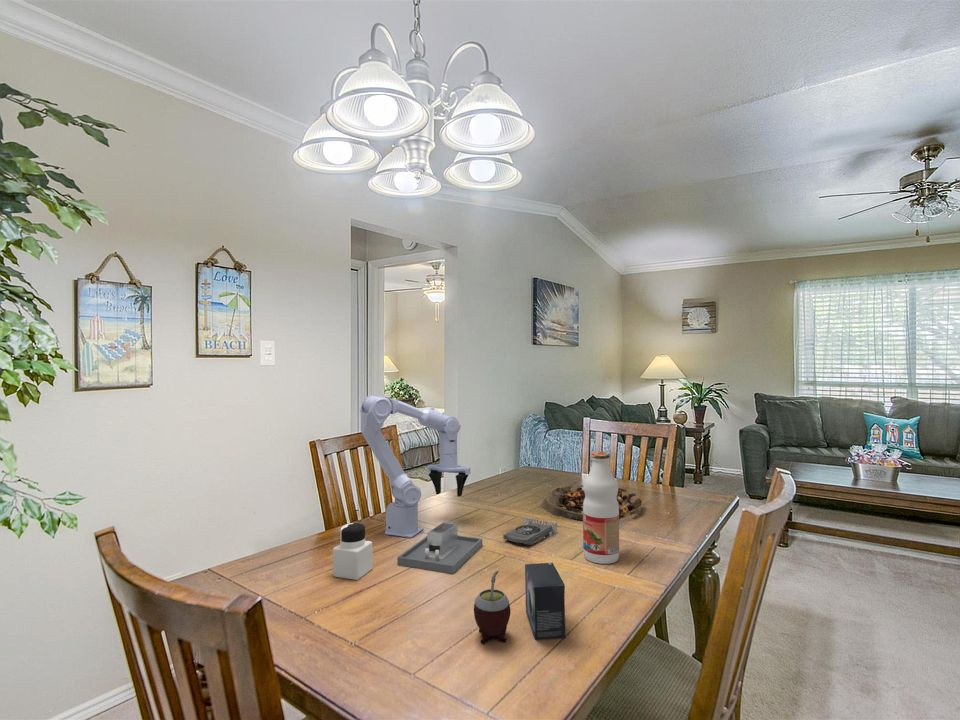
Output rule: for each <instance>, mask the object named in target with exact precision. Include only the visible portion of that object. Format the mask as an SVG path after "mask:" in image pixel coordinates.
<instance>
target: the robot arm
mask: <svg viewBox="0 0 960 720" xmlns="http://www.w3.org/2000/svg"><path fill="white" fill-rule="evenodd" d="M359 413H360V432H361V434H362V437H364V439H365V441H366V442H367V444H368V446H369V447H370V450H371V452H372V453H373V455H374V457H375V458H376V460H377V462H378V463H379V465H380V466H381V468H382V470H383V472H384V473H385V475H386V476H387V478H388V484H389V486H390V489H391V490H390V492H391V495H392V497H394V501H393V502H390V503H388V505H387V506H386V511H385V532H384V535H388V536H395V537H396V536H397V537H404V538H409V539H410V538H413V537H414V536H416V535H418V534H419V533H421V532H422V531H423V530H424V527H419V506H418V505H419V504H418V503H419V501H420V500H421V499H422V498H421V497H422V491H421V489H420V487H419V486H418V485H416V484H414V483H413V481H412V479H411V478H410V477H409V476H408V475H407V474H406V472H405V470H404V469H403V468H402V465H401V464H400V463H399V460H398V458H397V457H396V455H395V454H394V452H393V451H392V449H391V447H390V445H389V443H388V442H387V439H386V438H385V437H384V435H383V432H382V430H381V429H382V428H383V425H384V422H385V421H387V419H388V417H389V416H390V415H395V414H397V413H399V414H402V415H405V416H408V417H410V418H414V419H417V421H418V423H419V425H421V426H423V427H426V428H429V429H433V430H435V431H438V433H439V464H427V472H429V473H428V476H429V478H430V480H431V482H432V484H433V487H434V491H435V494H436V495H440V494H441V491H442V475H443V473H449V474H450V473H451V474H452V473H453V474H456V475H455V480H456V494H457V497H458V498H459V497H462V495H463V492H464V491H463V490H464V487H465V484H466V481H467V479H468V477H469V475H471V467H468V466H463V465H458V433H459V432H460V430H461V426H462V425H461V424H460V421H459V420H458V418H456V417H455V416H450V415H447V412H445V411H444V412H440V411H437V410H435V407H432V406H429V407H424V408H422V409H420V408H419V407H416V406H413V405H411V404H409V403H405V402H404V401H401V400H399V399H394V398H388V397H387V396H386V397H385V396H377V395H372V394H369V395H368V396H366V397H365V398H364V399H363V401H362V402H361V404H360V408H359Z"/></svg>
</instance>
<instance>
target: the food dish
mask: <svg viewBox="0 0 960 720" xmlns="http://www.w3.org/2000/svg"><path fill="white" fill-rule="evenodd" d="M573 487H574V486H573V485H570V486H568V485H567V486H563V487H555V488H554V489H552V490H551V491H549V492H548V493H547V494H546V495H545V497H544V499H543V501H542V503H540V509H543V511H546V512H547V513H549V514H551V515H553V516H555V517H561V518H565V519H571V520H577V521H583V502H584V499H585V493H584V489H583V488H582V487H583V485H576V486H575V487H577V488H575V489H573V490H572V488H573ZM571 490H572V491H571ZM627 492H628V490H627V489H624V488H621V487H620V488H619V487H618V493H617V497H616V498H617V501H618V505H619V520H621V519H623V518H626V517H628V516H632V515H640V514H641V513H642V512H641V511H642V503H643V501H642V498H639V497H637V499H635V501H634V503H633V504H632V501H631V499H632V498H633V497H635V496H636V495H637V494H636V493H634V492H633V493H628V494H627V495H623V493H627Z"/></svg>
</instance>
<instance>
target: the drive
mask: <svg viewBox="0 0 960 720" xmlns="http://www.w3.org/2000/svg"><path fill="white" fill-rule="evenodd" d="M458 530H459V529H458V524H457V523H451V522H444V521H443V522H441V523H440V524H438V525H436V526H435V527H434V528H432V529H430V530H428V531H427V532H426V533H427V534H426V536H427V548H429V555H432V556H435V550H439V557H443V556H444V555H446V554H447V553H448V552H450V551H451V550H452V549H454V548H455V547H456V546H458V536H459V535H458V532H459V531H458Z"/></svg>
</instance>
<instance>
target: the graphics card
mask: <svg viewBox="0 0 960 720" xmlns="http://www.w3.org/2000/svg"><path fill="white" fill-rule="evenodd" d="M522 521H523V522H524V523H523V524H522V525H519V526H517V527H515V528H514V529H511V530H510V531H507V532H506V533H504V534H503V535H502V536H503V537H502V538H503V540H508V541H510V542H513V543H518V544H523V545H530V546H532V545H533V544H535V543H537V542H539V541H540V540H542V539H543V541H542V542H545V541H547V540H548V539H550V538H551V537H553V536H556V534H558V526H557V525H558V522H556V523H555V522H553V521H548V520H543V519H539V518H538V519H537V518H533V517H528V516H525V517H522ZM544 537H545V538H544ZM546 539H547V540H546Z"/></svg>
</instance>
